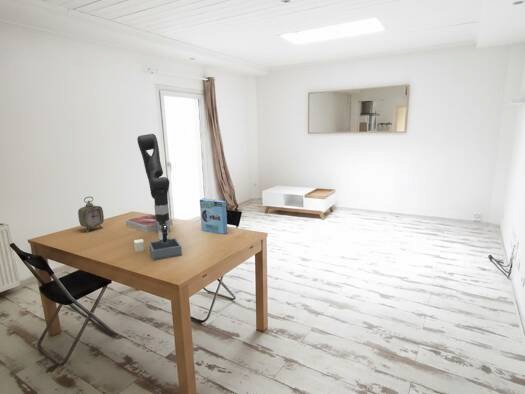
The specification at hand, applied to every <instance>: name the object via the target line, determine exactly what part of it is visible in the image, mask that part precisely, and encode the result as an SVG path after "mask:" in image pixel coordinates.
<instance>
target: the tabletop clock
mask: <svg viewBox="0 0 525 394" xmlns="http://www.w3.org/2000/svg"><path fill="white" fill-rule="evenodd" d="M89 198H91V199H92V200H87V201H85V200H86V199H89ZM93 200H94V198H93V197H92V196H86V197H85V198H84V199H83V202H84V203H86V204H85V206H82V207H80V208H79V209H78V210H77V211H78V212H77V213H78V214H77V215H78V221H79V225H80V226H81V227H85V228H86V233H89V230H90V229H91V230H92V229H93V228H95V227H97V226H99V228H100V229H102V228H103V226H101V225H102V224H104V220H105V219H104V210H103V208H102V206H99V205H95V204H94V203H93Z"/></svg>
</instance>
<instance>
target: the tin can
mask: <svg viewBox="0 0 525 394" xmlns="http://www.w3.org/2000/svg"><path fill="white" fill-rule="evenodd" d="M162 231H163V230H162ZM164 234H166V232H164ZM167 234H168V235H167V242H163V236H162V232H161V231H159V233H158V241H159V244H162V245H164V244H168V243H169V239H170V231H168V230H167Z"/></svg>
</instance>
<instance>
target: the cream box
mask: <svg viewBox="0 0 525 394" xmlns="http://www.w3.org/2000/svg"><path fill="white" fill-rule="evenodd" d="M133 245H134V246H133V247H134V251H135V252H136V253H137V252H142V251H145V242H144V239H143V238H141V239H134V240H133Z"/></svg>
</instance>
